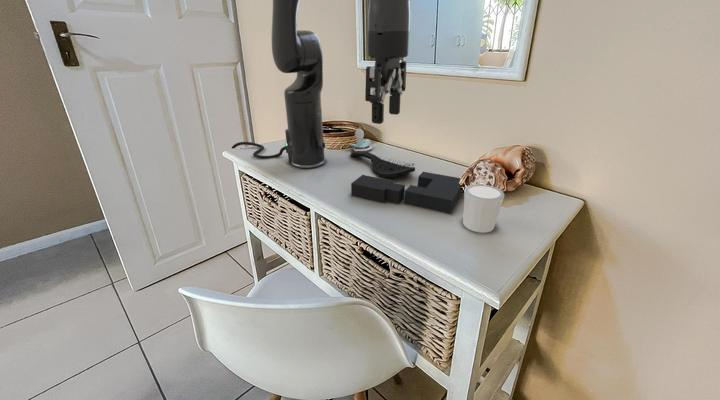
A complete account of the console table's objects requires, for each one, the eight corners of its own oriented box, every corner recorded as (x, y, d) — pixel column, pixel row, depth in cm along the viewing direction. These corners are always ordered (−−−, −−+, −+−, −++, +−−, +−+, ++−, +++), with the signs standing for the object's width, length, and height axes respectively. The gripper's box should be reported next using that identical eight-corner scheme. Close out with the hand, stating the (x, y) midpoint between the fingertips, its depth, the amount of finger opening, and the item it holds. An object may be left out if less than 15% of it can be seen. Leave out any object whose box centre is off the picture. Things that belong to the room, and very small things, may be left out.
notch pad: (404, 203, 71) (404, 190, 70) (422, 182, 81) (422, 171, 79) (450, 213, 67) (452, 200, 66) (463, 190, 76) (465, 178, 75)
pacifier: (376, 150, 103) (365, 144, 108) (377, 130, 100) (365, 125, 105) (356, 154, 100) (346, 149, 104) (356, 134, 97) (346, 129, 101)
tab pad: (351, 195, 75) (350, 183, 73) (362, 186, 79) (362, 174, 78) (396, 205, 70) (397, 193, 69) (405, 195, 74) (406, 183, 73)
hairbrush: (363, 142, 100) (423, 161, 82) (363, 154, 102) (422, 175, 83) (340, 148, 96) (398, 169, 77) (341, 160, 98) (398, 184, 79)
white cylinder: (503, 223, 63) (510, 190, 60) (488, 238, 59) (495, 204, 56) (469, 212, 67) (474, 180, 64) (453, 225, 63) (457, 192, 60)
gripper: (385, 29, 67) (383, 110, 75) (351, 29, 56) (353, 124, 64) (421, 28, 64) (415, 113, 72) (392, 28, 53) (389, 129, 60)
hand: (386, 118), depth 68 cm, fingers open, 8 cm apart
